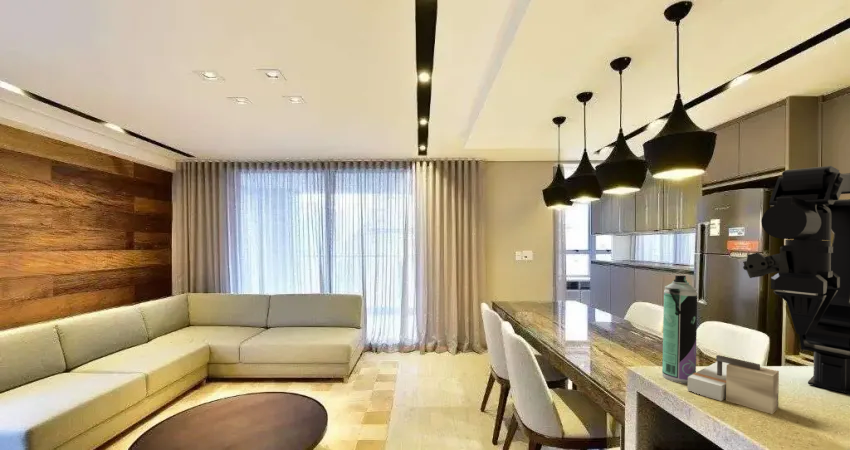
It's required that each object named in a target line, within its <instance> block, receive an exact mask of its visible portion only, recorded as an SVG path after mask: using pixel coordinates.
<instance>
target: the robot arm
mask: <svg viewBox="0 0 850 450" xmlns="http://www.w3.org/2000/svg"><path fill="white" fill-rule="evenodd" d="M848 194H849V195H850V172H846V173H841V172H840V170H839V169H838V168H837V167H834V166H832V165H825V166H817V167H806V168H805V167H803V168H794V169H786V170H785V169H784V170H783V171H782V173H781V176H779V177H778V178H777V179H776V182H775V186H774V189H773V191H772V193H771V196H770V199H769V202H768V205H769V206H770V207H769V208H768V209H767V210H766V211H765V212H764V213H763V215H762V217H761V221H760V222H761V226H762V229H763V230H764V232H765V233H766V234H768V235H770V236H771V237H773V238H776V239H782V240H784V243H785V244H782V246H780V247H779V253H776V254H771V255H767V256H764V255H763V254H762V253H761V252H754V253H751V254H747V256H746V260H745V261H742V264H743V267H742V268H743V270H744V271H746V273H747V276H748V277H749V279H754V278H759V277H764V276H765V275H767V274H773V273H775V274H774V275H772V276H771V277H770V289H771V290H773V293H774V294H775V295H778V297H780V298H781V299H782V300H784V301H785V302H786V305H787V306H788V308H787V309H788V310H789V314H790V317H791V321H792V323H793V327H794V330H795V333H796V334H797V335H799V340H800V341H799V343H800V349H801V350H803V351H810V352H813V376H812V377H811V378H810V379H809V380H808V382H807V384H808V385H810V386H815V387H818V388H823V389H827V390H831V391H835V392H839V393H843V394H844V393H845V394H848V395H850V198H846V199H845V198H844V199H840V197H841V195H848ZM832 234H833V239H832Z"/></svg>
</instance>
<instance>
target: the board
mask: <svg viewBox="0 0 850 450" xmlns="http://www.w3.org/2000/svg"><path fill="white" fill-rule="evenodd" d="M728 364H729V363H725V362H722V376H719V375H717V361H715V362H714V363H711V364H710V365H708V366H706V367H704V368H702V369H700V370H697V371H696V373H693V374H692V375H690V376H689V377H688V383H687V390H688V391H687V392H689V391H692V392H694V393H693V394H696V393H697V395H699V394H700V396H703V397H707V398H709V399H714V400H717V401H719V402H722V401H723V400H726V371H727V365H728ZM692 392H691V393H692Z"/></svg>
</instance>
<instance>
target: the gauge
mask: <svg viewBox="0 0 850 450" xmlns="http://www.w3.org/2000/svg"><path fill="white" fill-rule="evenodd" d="M715 362H717V375H719V376H722V362H725V363H729V364H728V365H727V371H726V398H725V401H726V402H729V403H733V404H737V405H740V406H743V407H747V408H750V409H753V410H756V411H759V412H760V411H761V412H763V413H768V414H771V415H773V414H774V413H775V412H776V411H777V410H778V409H779V388H780V387H779V386H780V384H779V383H780V381H779V380H780V378H779V377H780V371H778V370H776V369H770V368H766V367H762V366H761V364H760V363H756V362H751V361H747V360H743V359H738V358H734V357H729V356H725V355H720V354H718V355H716V356H715Z"/></svg>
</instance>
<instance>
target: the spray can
mask: <svg viewBox="0 0 850 450" xmlns="http://www.w3.org/2000/svg"><path fill="white" fill-rule="evenodd" d="M686 276H687V275H675V276H674V277H675V279H673V280H672V282H671V283H669V284H668V285H665V286H664V291H663V321H662V322H663V323H662V324H663V327H662V328H663V329H662V330H663V331H662V363H661V364H662V369H661V370H662V371H661V372H662V373H661V375H662V377H663V378H665V379H666V380H669V381H671V382H675V383H679V382H681V383H680V384H688V377H689V376H690V375H692V374H693V373H696V372H697V371H696V370H697V331H698V330H697V327H698V326H697V325H698V324H697V323H698V318H697V317H698V293H697V290H698V289H697V288H695V287H694V286H692V285H691V284H690V282H689V281H688V280H687V277H686Z"/></svg>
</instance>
